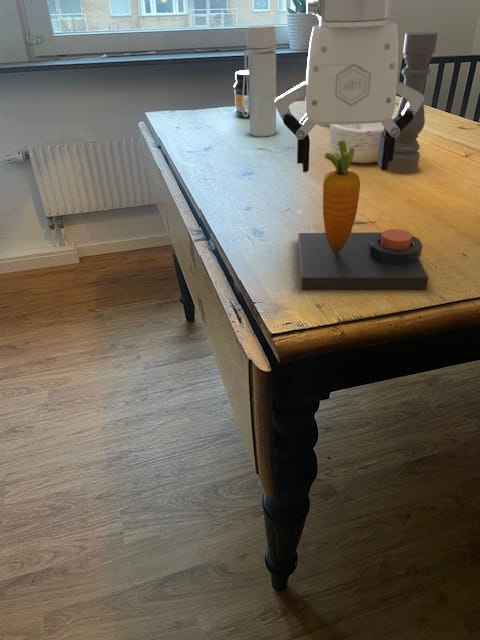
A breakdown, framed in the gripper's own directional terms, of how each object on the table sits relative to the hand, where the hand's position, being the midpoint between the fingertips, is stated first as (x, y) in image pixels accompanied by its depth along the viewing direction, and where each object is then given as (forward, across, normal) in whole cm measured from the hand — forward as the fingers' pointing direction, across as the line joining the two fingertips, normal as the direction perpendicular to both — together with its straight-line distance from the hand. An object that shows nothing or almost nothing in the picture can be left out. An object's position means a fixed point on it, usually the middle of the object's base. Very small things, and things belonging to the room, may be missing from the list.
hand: (343, 168), depth 63 cm
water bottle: (+14, -13, +75) cm, 77 cm away
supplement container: (+14, -16, +99) cm, 101 cm away
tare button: (+11, +8, 0) cm, 13 cm away
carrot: (+12, 0, 0) cm, 12 cm away
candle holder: (+14, +18, +43) cm, 49 cm away
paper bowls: (+14, +11, +52) cm, 55 cm away
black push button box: (+14, +3, 0) cm, 14 cm away
